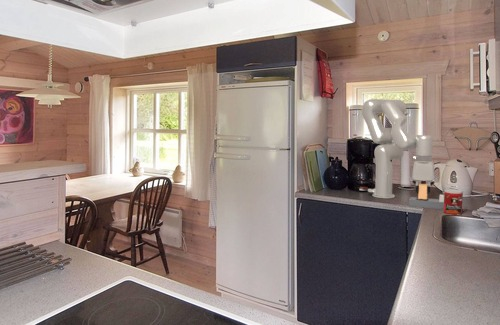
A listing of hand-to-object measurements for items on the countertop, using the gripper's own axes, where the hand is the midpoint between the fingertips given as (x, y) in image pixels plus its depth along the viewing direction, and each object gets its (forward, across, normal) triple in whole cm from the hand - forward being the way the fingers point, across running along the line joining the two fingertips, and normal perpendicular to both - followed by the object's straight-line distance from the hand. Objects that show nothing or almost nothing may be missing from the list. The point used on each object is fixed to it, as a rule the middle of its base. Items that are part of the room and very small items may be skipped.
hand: (422, 193), depth 180 cm
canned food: (+7, +14, -10) cm, 18 cm away
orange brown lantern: (+3, 0, 0) cm, 3 cm away
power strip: (+7, +4, 0) cm, 8 cm away
